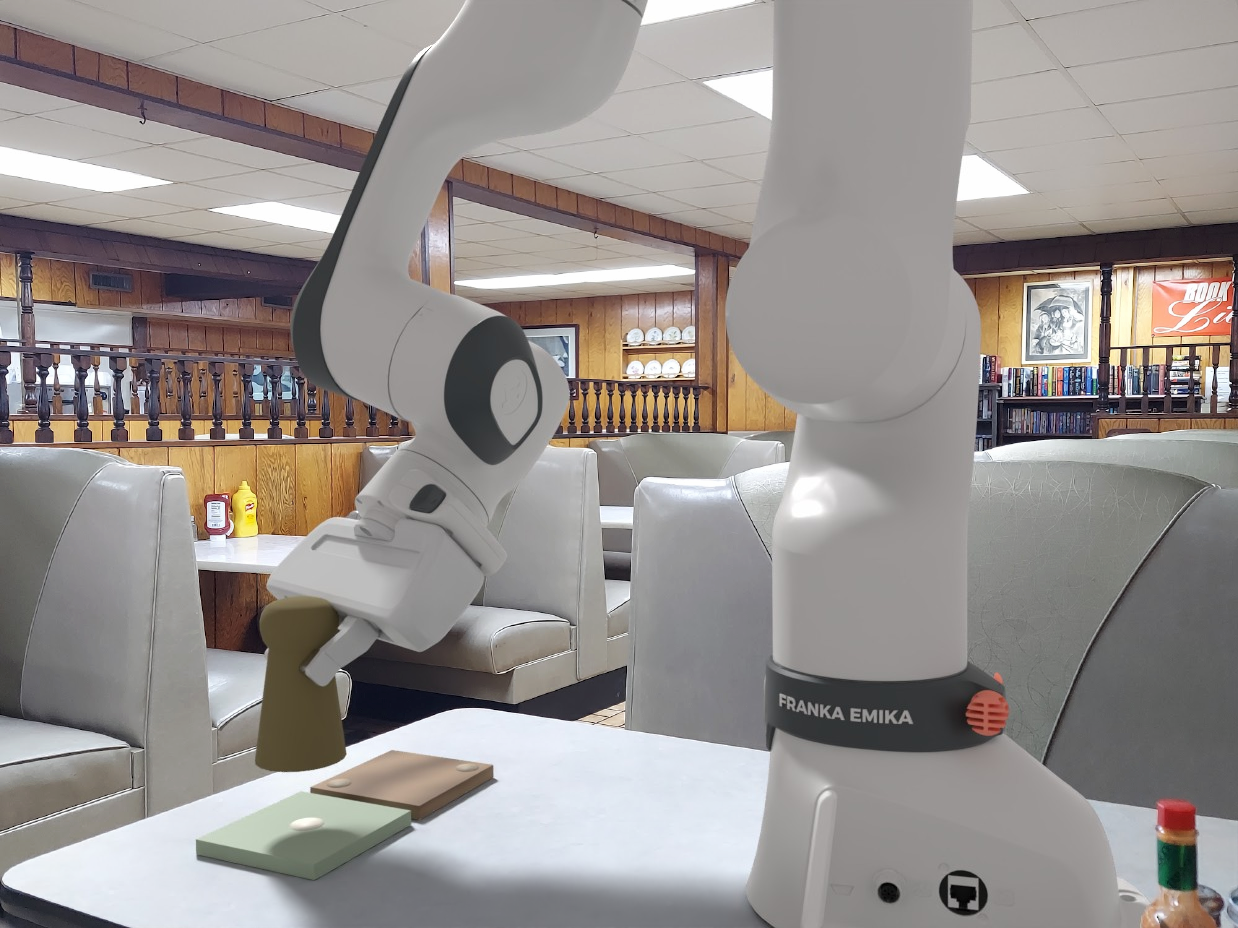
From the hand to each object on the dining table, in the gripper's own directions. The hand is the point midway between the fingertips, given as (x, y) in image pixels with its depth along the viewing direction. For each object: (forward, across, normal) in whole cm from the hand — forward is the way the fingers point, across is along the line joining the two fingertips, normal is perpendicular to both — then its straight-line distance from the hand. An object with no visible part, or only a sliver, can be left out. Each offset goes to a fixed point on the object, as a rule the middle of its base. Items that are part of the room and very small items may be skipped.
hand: (291, 671), depth 71 cm
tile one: (+8, 0, +9) cm, 12 cm away
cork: (+4, 0, +5) cm, 6 cm away
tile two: (0, -4, +16) cm, 16 cm away
